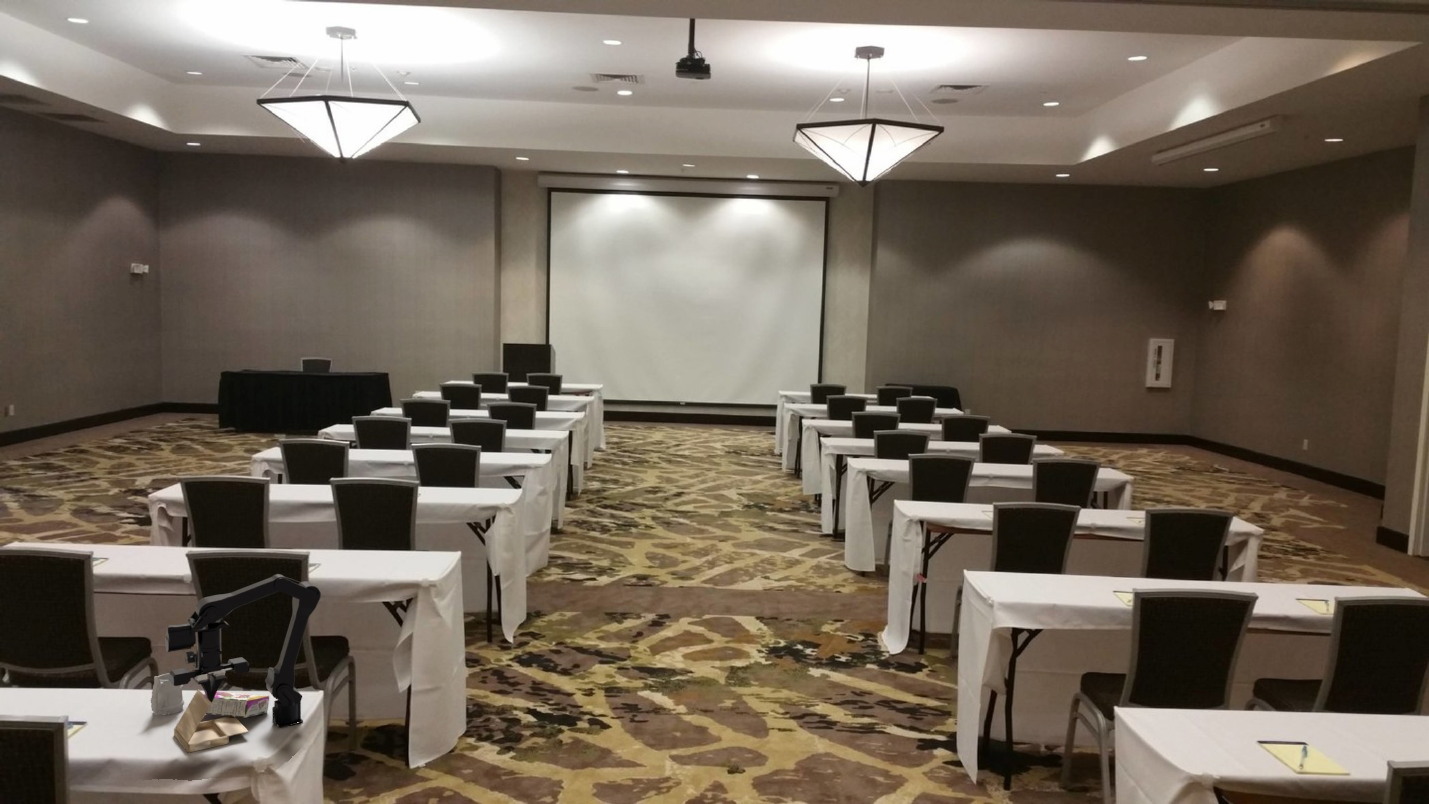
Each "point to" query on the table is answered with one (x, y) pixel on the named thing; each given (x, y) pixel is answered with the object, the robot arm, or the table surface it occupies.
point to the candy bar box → (238, 704)
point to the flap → (193, 715)
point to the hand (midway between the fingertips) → (210, 702)
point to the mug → (166, 696)
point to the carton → (212, 733)
